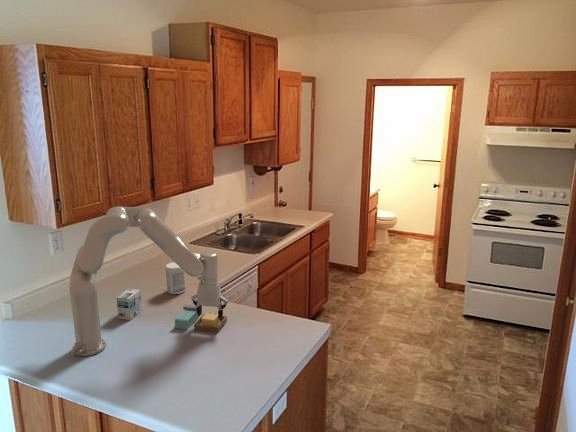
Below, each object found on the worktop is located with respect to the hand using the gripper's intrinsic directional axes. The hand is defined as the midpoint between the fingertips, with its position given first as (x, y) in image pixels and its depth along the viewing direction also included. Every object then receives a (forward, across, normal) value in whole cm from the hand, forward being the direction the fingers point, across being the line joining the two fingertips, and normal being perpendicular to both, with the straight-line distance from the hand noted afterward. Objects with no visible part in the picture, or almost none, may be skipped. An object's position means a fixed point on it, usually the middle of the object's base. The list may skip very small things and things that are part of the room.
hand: (209, 316), depth 206 cm
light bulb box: (+5, -40, +1) cm, 41 cm away
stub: (+4, 0, 0) cm, 4 cm away
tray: (+5, 0, 0) cm, 5 cm away
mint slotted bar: (+5, -11, +2) cm, 12 cm away
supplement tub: (+5, -31, +31) cm, 44 cm away
